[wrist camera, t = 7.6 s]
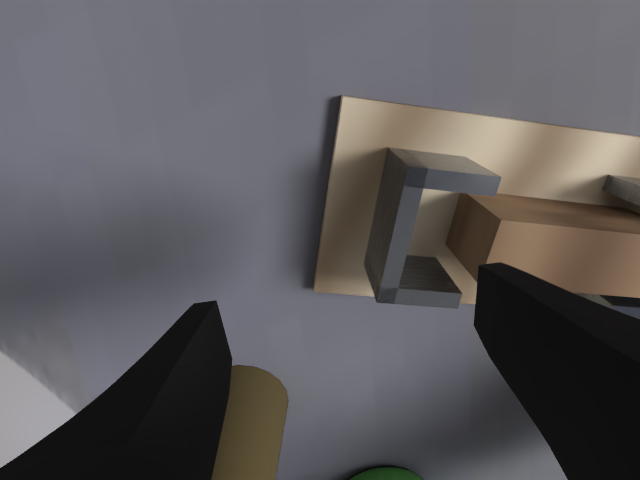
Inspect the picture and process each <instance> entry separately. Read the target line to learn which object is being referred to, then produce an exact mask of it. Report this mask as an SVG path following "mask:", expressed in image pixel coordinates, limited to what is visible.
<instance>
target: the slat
mask: <svg viewBox="0 0 640 480" xmlns="http://www.w3.org/2000/svg"><path fill="white" fill-rule="evenodd" d="M445 245H446V246H447V247H448V248H449V249H450V251H451V252H452V253H453V254H454V255H455V257H456V258H457V259H458V260H459V261H460V263H461V264H462V265H463V266H464V268H465V269H466V270H467V271H468V272H469V274H470V275H471V276H472V277H473V278H474V280H475V281H476V282H477V278H478V265H483V264H490V263H498V262H502V263H505V264H507V265H510V266H513V267H515V268H517V269H520V270H522V271H524V272H527V273H529V274H531V275H534V276H536V277H538V278H540V279H543V280H545V281H547V282H549V283H552V284H554V285H556V286H558V287H561V288H563V289H565V290H567V291H570V292H574V293H586V294H598V295H610V296H622V297H634V298H640V214H638V213H636V212H634V211H631V210H629V209H627V208H622V207H613V206H604V205H595V204H586V203H578V202H569V201H560V200H551V199H542V198H534V197H525V196H516V195H507V194H498V193H496V196H486V195H477V194H468V193H460V196H459V199H458V202H457V206H456V209H455V213H454V216H453V219H452V223H451V226H450V229H449V233H448V236H447V240H446V243H445Z"/></svg>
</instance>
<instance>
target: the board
mask: <svg viewBox="0 0 640 480" xmlns="http://www.w3.org/2000/svg"><path fill="white" fill-rule="evenodd" d="M387 147H391V148H400V149H408V150H416V151H424V152H432V153H440V154H448V155H456V156H464V157H467V158H469V159H470V160H472V161H474V162H476V163H477V164H479V165H481V166H483V167H485V168H486V169H488V170H490V171H492V172H493V173H495V174H497V175H499V176H501V177H502V178H501V181H500V184H499V187H498V190H497V193H498V194H507V195H516V196H525V197H534V198H542V199H551V200H560V201H569V202H578V203H586V204H595V205H604V206H613V207H622V208H627V209H629V210H631V211H634V212H636V213H638V214H640V206H638V205H636V204H634V203H631V202H629V201H626V200H624V199H622V198H619V197H617V196H615V195H612V194H610V193H608V192H605V191H603V190H602V187H603V185H604V183H605V181H606V178H607V176H608V174H609V175H617V176H625V177H633V178H640V137H639V136H631V135H624V134H617V133H610V132H602V131H595V130H588V129H581V128H574V127H566V126H559V125H552V124H545V123H537V122H530V121H523V120H516V119H509V118H501V117H494V116H487V115H480V114H472V113H465V112H458V111H451V110H444V109H436V108H429V107H422V106H415V105H407V104H400V103H393V102H386V101H379V100H371V99H364V98H357V97H350V96H343V95H341V101H340V108H339V114H338V121H337V128H336V135H335V141H334V148H333V155H332V162H331V169H330V175H329V182H328V189H327V196H326V202H325V209H324V216H323V223H322V229H321V236H320V243H319V250H318V257H317V263H316V270H315V277H314V284H313V289H314V292H323V293H336V294H349V295H362V296H374V293H373V290H372V287H371V285H370V282H369V279H368V276H367V273H366V270H365V268H364V260H365V255H366V250H367V245H368V240H369V235H370V230H371V226H372V221H373V216H374V211H375V206H376V201H377V196H378V191H379V186H380V182H381V177H382V172H383V167H384V162H385V157H386V152H387ZM459 196H460V193H459V192H450V191H441V190H432V189H423V192H422V196H421V200H420V204H419V208H418V212H417V216H416V220H415V224H414V228H413V232H412V236H411V240H410V244H409V247H408V251H407V255H413V256H424V257H435V258H437V259H438V261H439V262H440V264H441V265H442V266H443V268H444V269H445V270H446V272H447V273H448V274H449V276H450V277H451V279H452V280H453V281H454V283H455V284H456V285H457V287H458V288H459V290H460V291H461V292H462V297H461V300H460V303H466V304H476V291H477V282H476V281H475V280H474V278H473V277H472V276H471V275H470V274H469V272H468V271H467V270H466V269H465V268H464V266H463V265H462V264H461V263H460V261H459V260H458V259H457V258H456V257H455V255H454V254H453V253H452V252H451V251H450V249H449V248H448V247H447V246H446V245H445V243H446V240H447V236H448V233H449V229H450V226H451V223H452V219H453V216H454V213H455V209H456V206H457V202H458V199H459ZM572 293H573V292H572Z"/></svg>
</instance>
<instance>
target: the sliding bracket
mask: <svg viewBox="0 0 640 480" xmlns="http://www.w3.org/2000/svg"><path fill="white" fill-rule="evenodd" d="M501 178H502V177H501V176H499V175H497V174H495V173H493V172H492V171H490V170H488V169H486V168H485V167H483V166H481V165H479V164H477V163H476V162H474V161H472V160H470V159H469V158H467V157H464V156H456V155H448V154H440V153H432V152H424V151H416V150H408V149H400V148H391V147H387V152H386V157H385V162H384V167H383V172H382V177H381V182H380V186H379V191H378V196H377V201H376V206H375V211H374V216H373V221H372V226H371V230H370V235H369V240H368V245H367V250H366V255H365V260H364V268H365V270H366V273H367V276H368V279H369V282H370V285H371V287H372V290H373V293H374V296H375V299H376V302H377V303H390V304H404V305H417V306H430V307H444V308H457V309H458V306H459V303H460V300H461V297H462V292H461V291H460V290H459V288H458V287H457V285H456V284H455V283H454V281H453V280H452V279H451V277H450V276H449V274H448V273H447V272H446V270H445V269H444V268H443V266H442V265H441V264H440V262H439V261H438V259H437V258H435V257H424V256H413V255H407V251H408V247H409V244H410V240H411V236H412V232H413V228H414V224H415V220H416V216H417V212H418V208H419V204H420V200H421V196H422V192H423V189H432V190H441V191H450V192H459V193H468V194H477V195H486V196H496V193H497V190H498V187H499V184H500V181H501Z"/></svg>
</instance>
